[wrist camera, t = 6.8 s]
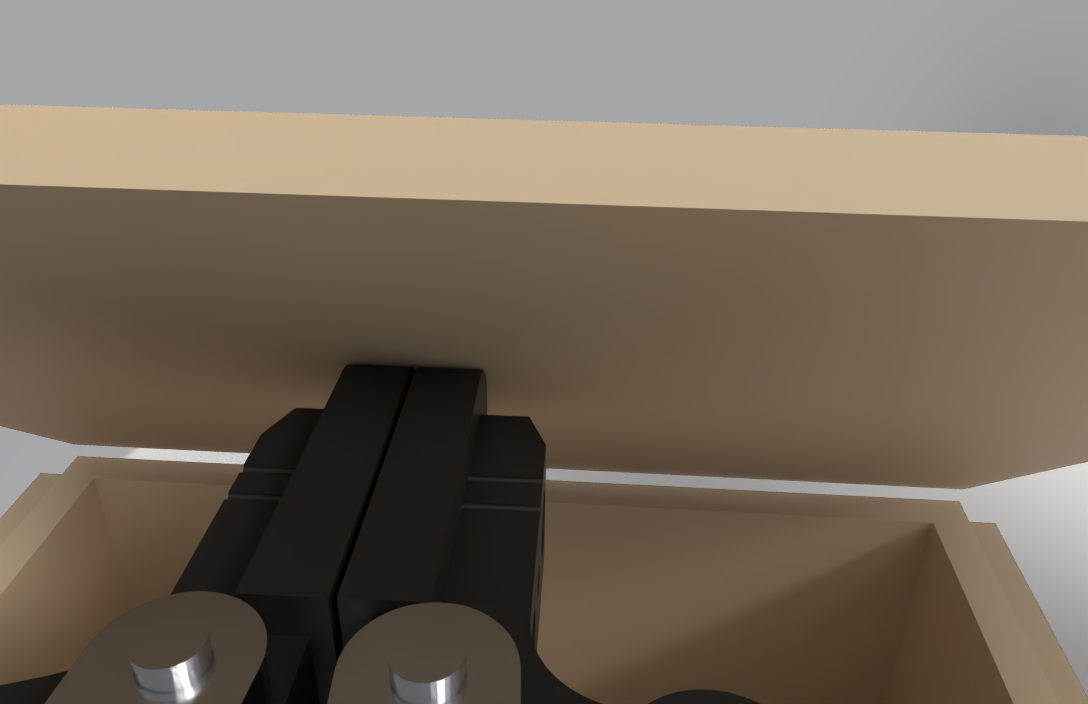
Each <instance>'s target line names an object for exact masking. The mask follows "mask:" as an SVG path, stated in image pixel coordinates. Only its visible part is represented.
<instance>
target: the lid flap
mask: <svg viewBox="0 0 1088 704" xmlns="http://www.w3.org/2000/svg"><path fill="white" fill-rule="evenodd" d="M346 365H367V366H395V367H413V368H414V369H415V370H416V369H417V368H418V367H427V368H452V369H477V370H484V372H485V375H486V382H487V415H504V416H529V417H530V419H531V420H532V422H533V424H534V426H535V427H536V429H537V431H538V432H539V434H540V436H541V437H542V439H543V441H544V442H545V444H546V468H551V469H571V470H591V471H611V472H631V473H650V474H670V475H690V476H710V477H729V478H749V479H769V480H789V481H809V482H828V483H848V484H868V485H888V486H907V487H927V488H947V489H966V488H971V487H975V486H980V485H984V484H989V483H993V482H998V481H1003V480H1007V479H1012V478H1016V477H1021V476H1025V475H1030V474H1034V473H1039V472H1043V471H1048V470H1052V469H1057V468H1061V467H1066V466H1070V465H1075V464H1079V463H1084V462H1088V136H1063V135H1030V134H1029V135H1027V134H993V133H960V132H927V131H893V130H858V129H857V130H856V129H824V128H790V127H789V128H788V127H755V126H721V125H686V124H652V123H651V124H650V123H617V122H583V121H581V122H580V121H549V120H548V121H547V120H515V119H513V120H512V119H481V118H479V119H478V118H445V117H412V116H411V117H409V116H378V115H341V114H307V113H273V112H240V111H239V112H238V111H205V110H202V111H201V110H171V109H137V108H103V107H67V106H33V105H0V426H2V427H7V428H10V429H15V430H18V431H22V432H26V433H30V434H35V435H38V436H42V437H46V438H51V439H55V440H59V441H63V442H67V443H71V444H77V445H97V446H116V447H117V446H118V447H136V448H156V449H176V450H195V451H215V452H235V453H251V451H252V449H253V448H254V446H255V444H256V442H257V441H258V439H259V437H260V435H261V434H262V433H263V432H265V431H266V430H267V429H268V428H270V427H271V426H272V425H274V424H275V423H276V422H278V421H279V420H280V419H282V418H283V417H284V416H285V415H287V414H288V413H289V412H291V411H292V410H293V409H295V408H315V409H324V408H325V406H326V404H327V402H328V399H329V397H330V395H331V393H332V391H333V389H334V387H335V385H336V383H337V381H338V379H339V377H340V375H341V372H342V371H343V369H344V367H345V366H346Z"/></svg>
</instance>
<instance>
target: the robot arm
mask: <svg viewBox="0 0 1088 704" xmlns="http://www.w3.org/2000/svg"><path fill="white" fill-rule="evenodd" d="M545 487H546V444H545V442H544V441H543V439H542V437H541V436H540V434H539V432H538V431H537V429H536V427H535V426H534V424H533V422H532V420H531V419H530V417H529V416H504V415H487V382H486V375H485V372H484V370H477V369H452V368H427V367H418V368H417V369H416V370H415V369H414V368H413V367H395V366H367V365H346V366H345V367H344V369H343V371H342V372H341V375H340V377H339V379H338V381H337V383H336V385H335V387H334V389H333V391H332V393H331V395H330V397H329V399H328V402H327V404H326V406H325V408H324V409H315V408H295V409H293V410H292V411H291V412H289V413H288V414H287V415H285V416H284V417H283V418H282V419H280V420H279V421H278V422H276V423H275V424H274V425H272V426H271V427H270V428H268V429H267V430H266V431H265V432H263V433H262V434H261V435H260V437H259V439H258V441H257V442H256V444H255V446H254V448H253V449H252V451H251V453H250V455H249V456H248V458H247V460H246V462H245V464H244V465H243V472H239V474H238V476H237V478H236V479H235V481H234V483H233V485H232V487H231V488H230V490H229V492H228V499H224V501H223V502H222V504H221V506H220V508H219V509H218V511H217V513H216V515H215V517H214V518H213V520H212V522H211V524H210V525H209V527H208V529H207V531H206V532H205V534H204V536H203V538H202V540H201V541H200V543H199V545H198V547H197V548H196V550H195V552H194V554H193V555H192V557H191V559H190V561H189V562H188V564H187V566H186V568H185V570H184V571H183V573H182V575H181V577H180V578H179V580H178V582H177V584H176V585H175V587H174V589H173V591H172V593H171V594H170V595H167V596H164V597H161V598H157V599H154V600H151V601H149V602H146V603H144V604H141V605H139V606H137V607H135V608H133V609H131V610H129V611H127V612H126V613H124V614H122V615H120V616H119V617H118V618H116V619H115V620H113V621H112V622H111V623H109V624H108V625H107V626H105V627H104V628H103V629H102V630H101V631H100V632H99V633H98V634H97V635H96V636H95V637H94V638H93V639H92V640H91V641H90V643H89V644H88V645H87V646H86V647H85V649H84V650H83V652H82V653H81V654H80V656H79V657H78V658H77V660H76V661H75V662H74V664H73V665H72V667H71V668H70V669H69V670H68V671H64V672H60V673H56V674H52V675H48V676H43V677H38V678H33V679H28V680H24V681H19V682H14V683H9V684H4V685H0V704H601V703H599V702H596V701H594V700H592V699H589V698H587V697H584V696H582V695H581V694H579V693H577V692H576V691H574V690H572V689H570V688H569V687H567V686H566V685H565V684H564V683H562V682H561V681H560V680H559V679H557V678H556V677H555V676H554V675H553V674H552V673H551V672H550V670H549V669H548V668H547V667H546V666H545V664H544V663H543V661H542V660H541V658H540V657H539V655H538V653H537V644H538V632H539V619H540V606H541V591H542V581H543V568H544V555H545ZM648 704H760V703H758V702H755V701H753V700H751V699H748V698H746V697H743V696H740V695H736V694H733V693H729V692H724V691H717V690H709V689H693V690H686V691H678V692H675V693H672V694H668V695H665V696H662V697H660V698H658V699H656V700H654V701H652V702H650V703H648Z"/></svg>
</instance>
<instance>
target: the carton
mask: <svg viewBox="0 0 1088 704" xmlns="http://www.w3.org/2000/svg"><path fill="white" fill-rule="evenodd" d="M239 472H243V465H241V464H221V463H202V462H182V461H163V460H143V459H124V458H104V457H85V456H77V458H76V459H75V460H74V461H73V462H72V463H71V465H70V466H69V467H68V468H67V469H66V470H65V472H64V473H63V474H47V473H40V475H38V477H37V478H36V479H35V480H34V481H33V482H32V483H31V484H30V486H29V487H28V488H27V489H26V490H25V491H24V492H23V494H22V495H21V496H20V497H19V498H18V499H17V500H16V501H15V503H14V504H13V505H12V506H11V507H10V508H9V509H8V510H7V512H6V513H5V514H4V515H3V516H2V517H1V518H0V685H4V684H9V683H14V682H19V681H24V680H28V679H33V678H38V677H43V676H48V675H52V674H56V673H60V672H64V671H68V670H69V669H70V668H71V667H72V665H73V664H74V662H75V661H76V660H77V658H78V657H79V656H80V654H81V653H82V652H83V650H84V649H85V647H86V646H87V645H88V644H89V643H90V641H91V640H92V639H93V638H94V637H95V636H96V635H97V634H98V633H99V632H100V631H101V630H102V629H103V628H104V627H105V626H107V625H108V624H109V623H111V622H112V621H113V620H115V619H116V618H118V617H119V616H120V615H122V614H124V613H126V612H127V611H129V610H131V609H133V608H135V607H137V606H139V605H141V604H144V603H146V602H149V601H151V600H154V599H157V598H161V597H164V596H167V595H170V594H171V593H172V591H173V589H174V587H175V585H176V584H177V582H178V580H179V578H180V577H181V575H182V573H183V571H184V570H185V568H186V566H187V564H188V562H189V561H190V559H191V557H192V555H193V554H194V552H195V550H196V548H197V547H198V545H199V543H200V541H201V540H202V538H203V536H204V534H205V532H206V531H207V529H208V527H209V525H210V524H211V522H212V520H213V518H214V517H215V515H216V513H217V511H218V509H219V508H220V506H221V504H222V502H223V501H224V499H228V492H229V490H230V488H231V487H232V485H233V483H234V481H235V479H236V478H237V476H238V474H239ZM537 653H538V655H539V657H540V658H541V660H542V661H543V663H544V664H545V666H546V667H547V668H548V669H549V670H550V672H551V673H552V674H553V675H554V676H555V677H556V678H557V679H559V680H560V681H561V682H562V683H564V684H565V685H566V686H567V687H569V688H570V689H572V690H574V691H576V692H577V693H579V694H581V695H582V696H584V697H587V698H589V699H592V700H594V701H596V702H599V703H601V704H648V703H650V702H652V701H654V700H656V699H658V698H660V697H662V696H665V695H668V694H672V693H675V692H678V691H686V690H693V689H709V690H717V691H724V692H729V693H733V694H736V695H740V696H743V697H746V698H748V699H751V700H753V701H755V702H758V703H760V704H1088V697H1087V696H1086V694H1085V692H1084V690H1083V688H1082V686H1081V684H1080V682H1079V680H1078V679H1077V677H1076V675H1075V673H1074V671H1073V669H1072V667H1071V665H1070V663H1069V662H1068V660H1067V658H1066V656H1065V654H1064V652H1063V650H1062V648H1061V646H1060V645H1059V643H1058V641H1057V639H1056V637H1055V635H1054V633H1053V631H1052V630H1051V628H1050V626H1049V624H1048V622H1047V620H1046V618H1045V616H1044V614H1043V613H1042V611H1041V609H1040V607H1039V605H1038V603H1037V601H1036V599H1035V597H1034V596H1033V594H1032V592H1031V590H1030V588H1029V586H1028V584H1027V582H1026V580H1025V579H1024V577H1023V575H1022V573H1021V571H1020V569H1019V567H1018V565H1017V563H1016V562H1015V560H1014V558H1013V556H1012V554H1011V552H1010V550H1009V548H1008V546H1007V545H1006V543H1005V541H1004V539H1003V537H1002V535H1001V533H1000V531H999V530H998V528H997V526H996V524H995V523H980V522H969V520H968V518H967V516H966V514H965V512H964V510H963V508H962V506H961V504H960V502H959V501H942V500H923V499H903V498H884V497H864V496H845V495H825V494H806V493H786V492H767V491H747V490H728V489H708V488H689V487H669V486H650V485H630V484H611V483H591V482H572V481H552V480H546V487H545V555H544V568H543V581H542V591H541V606H540V619H539V632H538V644H537Z"/></svg>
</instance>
